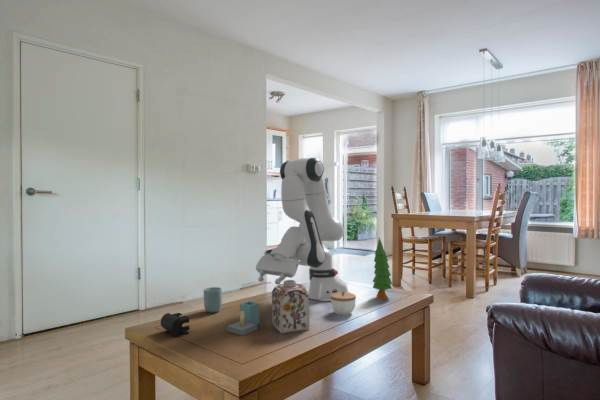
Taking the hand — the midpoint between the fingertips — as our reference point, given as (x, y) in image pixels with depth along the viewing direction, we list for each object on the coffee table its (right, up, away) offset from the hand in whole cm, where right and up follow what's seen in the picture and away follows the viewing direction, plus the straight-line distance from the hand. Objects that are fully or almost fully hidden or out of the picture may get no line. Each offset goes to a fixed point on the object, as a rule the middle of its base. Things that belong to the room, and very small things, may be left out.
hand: (268, 282), depth 168 cm
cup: (-25, -15, +8) cm, 30 cm away
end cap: (-33, -15, -19) cm, 41 cm away
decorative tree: (+54, -14, +28) cm, 62 cm away
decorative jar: (+10, -15, -14) cm, 23 cm away
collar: (-7, -15, -9) cm, 18 cm away
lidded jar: (+32, -14, +3) cm, 35 cm away
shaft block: (-8, -15, -17) cm, 24 cm away
